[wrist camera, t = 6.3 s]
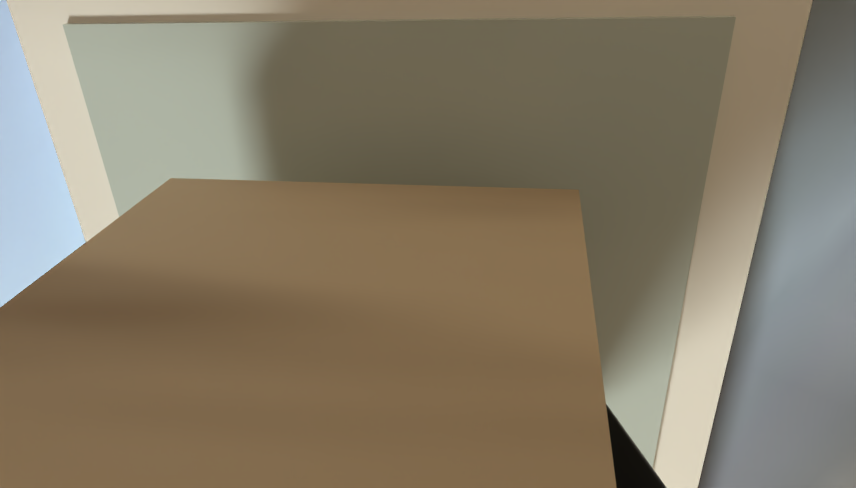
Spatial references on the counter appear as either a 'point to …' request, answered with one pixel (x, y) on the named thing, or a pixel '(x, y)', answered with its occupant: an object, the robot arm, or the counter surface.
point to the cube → (312, 344)
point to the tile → (465, 138)
